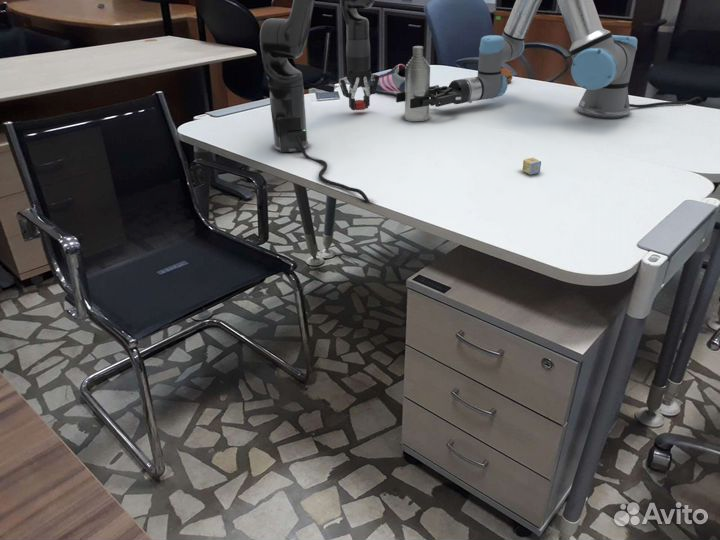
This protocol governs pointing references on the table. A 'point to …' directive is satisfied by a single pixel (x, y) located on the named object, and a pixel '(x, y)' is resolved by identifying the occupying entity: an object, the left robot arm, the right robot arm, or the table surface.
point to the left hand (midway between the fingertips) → (359, 108)
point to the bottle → (417, 85)
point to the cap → (360, 104)
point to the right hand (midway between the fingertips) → (403, 100)
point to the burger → (507, 74)
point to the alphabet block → (531, 166)
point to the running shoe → (392, 81)
